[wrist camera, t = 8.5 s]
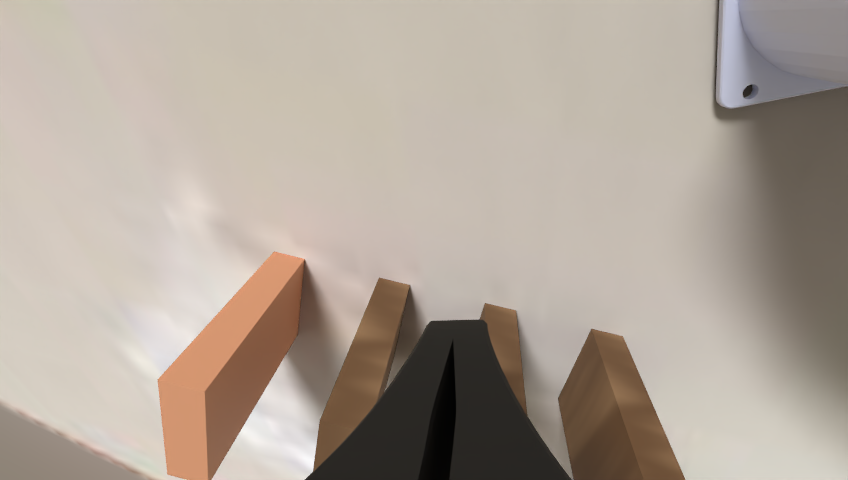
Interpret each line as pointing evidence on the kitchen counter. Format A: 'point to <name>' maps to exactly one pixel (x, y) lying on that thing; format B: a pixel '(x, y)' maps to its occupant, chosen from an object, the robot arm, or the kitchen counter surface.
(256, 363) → the end domino
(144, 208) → the kitchen counter surface
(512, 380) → the domino
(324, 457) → the domino
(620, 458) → the domino
